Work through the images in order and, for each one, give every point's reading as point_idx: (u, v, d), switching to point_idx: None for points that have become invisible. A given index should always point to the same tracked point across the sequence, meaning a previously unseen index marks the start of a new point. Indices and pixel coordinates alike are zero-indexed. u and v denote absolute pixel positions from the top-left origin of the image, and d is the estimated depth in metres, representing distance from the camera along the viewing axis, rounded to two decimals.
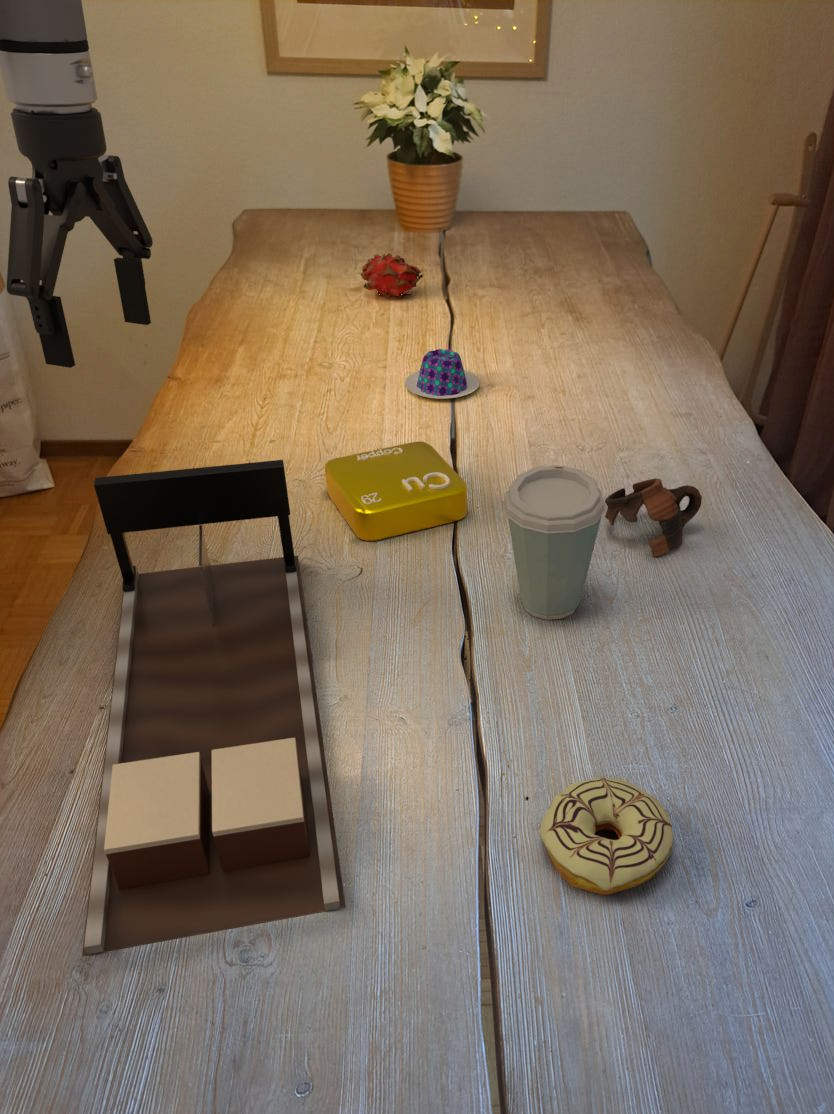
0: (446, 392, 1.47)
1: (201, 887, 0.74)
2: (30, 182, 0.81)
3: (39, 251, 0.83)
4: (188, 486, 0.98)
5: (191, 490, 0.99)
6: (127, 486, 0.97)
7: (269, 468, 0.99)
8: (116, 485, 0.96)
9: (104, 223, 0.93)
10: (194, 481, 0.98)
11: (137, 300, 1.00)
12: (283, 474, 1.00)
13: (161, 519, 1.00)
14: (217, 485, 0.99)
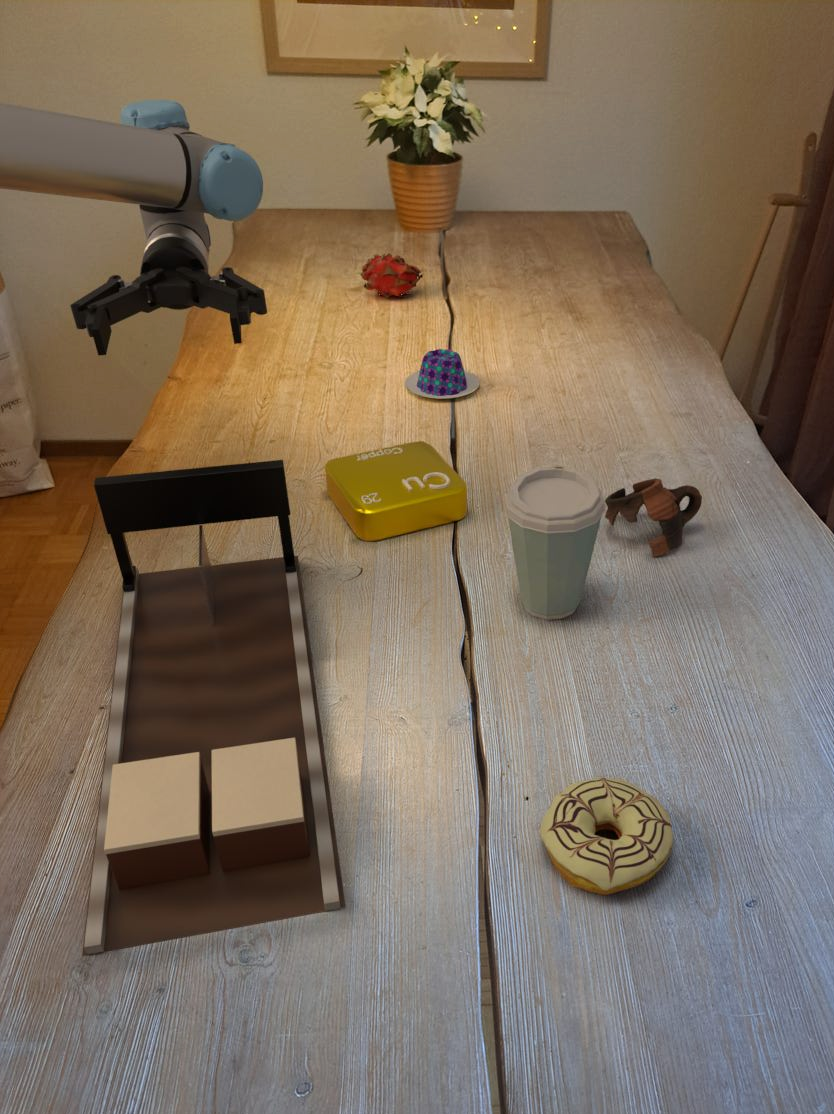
0: (446, 392, 1.47)
1: (201, 887, 0.74)
2: None
3: None
4: (188, 486, 0.98)
5: (191, 490, 0.99)
6: (127, 486, 0.97)
7: (269, 468, 0.99)
8: (116, 485, 0.96)
9: (134, 302, 1.03)
10: (194, 481, 0.98)
11: (106, 338, 0.97)
12: (283, 474, 1.00)
13: (161, 519, 1.00)
14: (217, 485, 0.99)
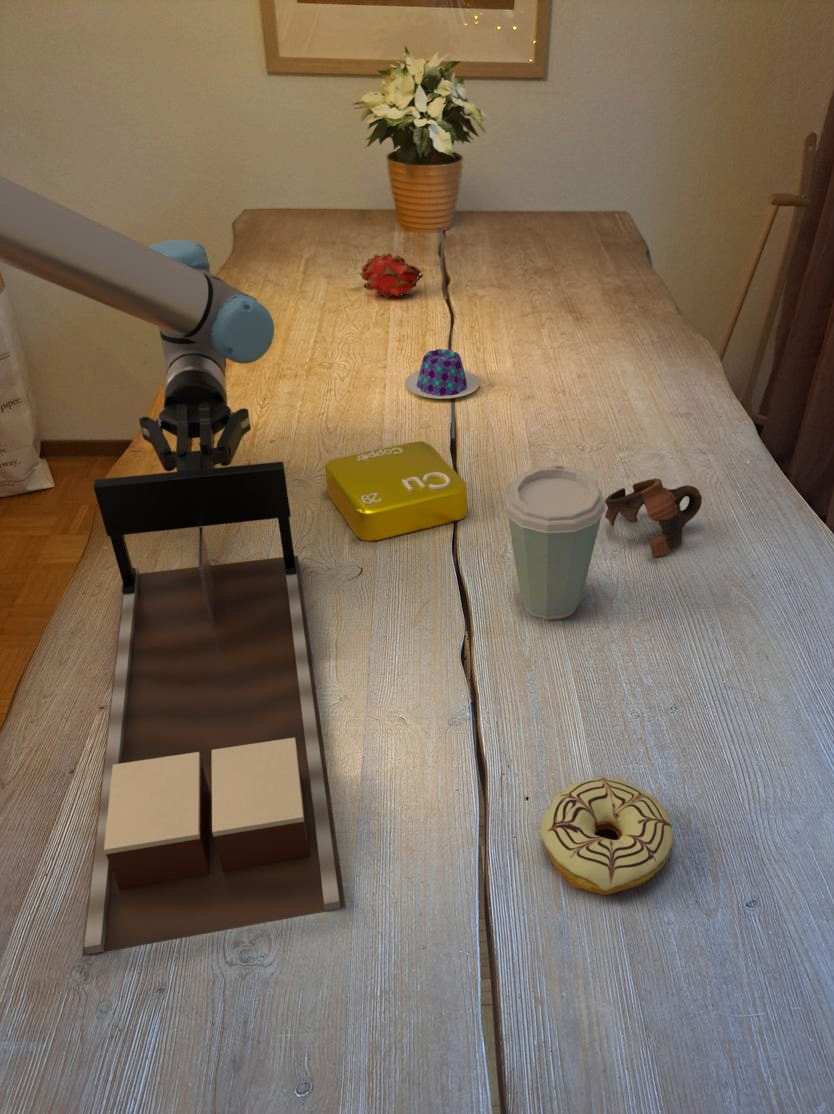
0: (446, 392, 1.47)
1: (201, 887, 0.74)
2: (250, 427, 1.14)
3: None
4: (188, 488, 0.98)
5: (191, 492, 0.98)
6: (126, 488, 0.96)
7: (269, 470, 0.99)
8: (116, 487, 0.96)
9: (189, 439, 1.09)
10: (194, 483, 0.98)
11: None
12: (283, 476, 0.99)
13: (161, 521, 1.00)
14: (217, 487, 0.99)
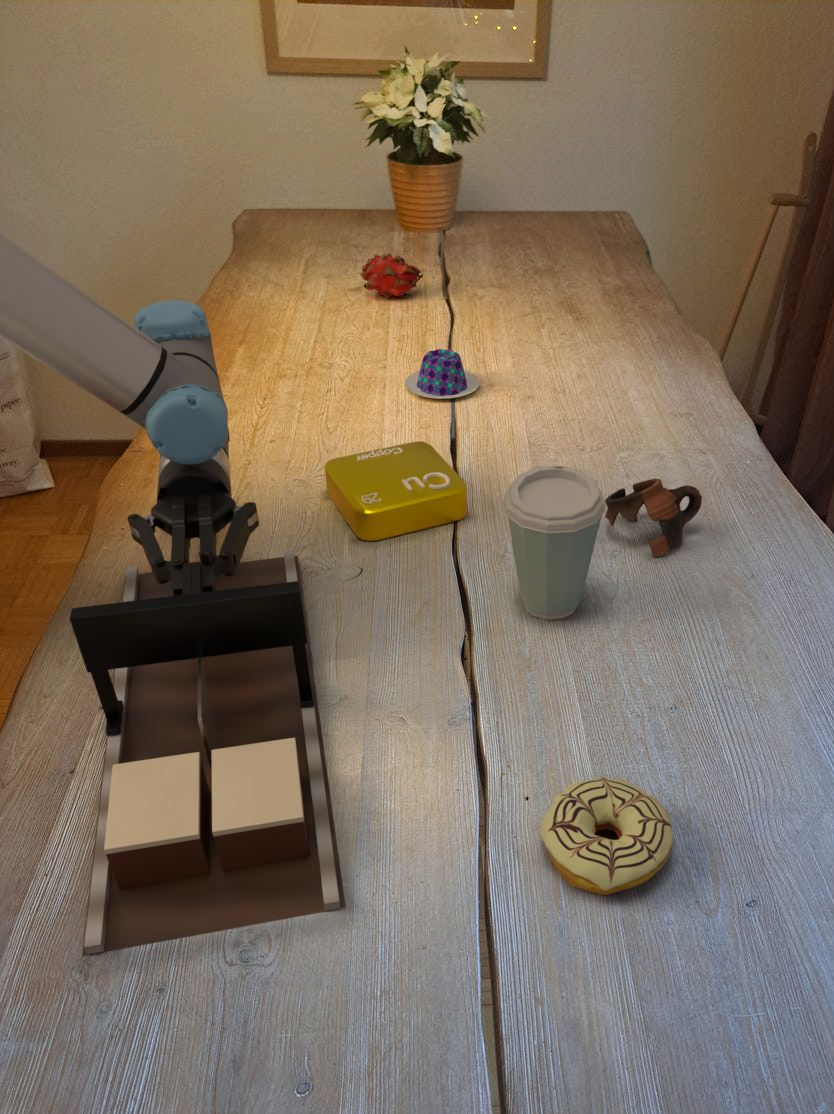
0: (446, 392, 1.47)
1: (201, 887, 0.74)
2: (258, 522, 0.97)
3: None
4: (185, 616, 0.81)
5: (188, 621, 0.81)
6: (110, 618, 0.79)
7: (283, 593, 0.82)
8: (97, 618, 0.79)
9: (187, 542, 0.92)
10: (192, 611, 0.81)
11: None
12: (299, 599, 0.83)
13: (152, 653, 0.83)
14: (220, 614, 0.82)
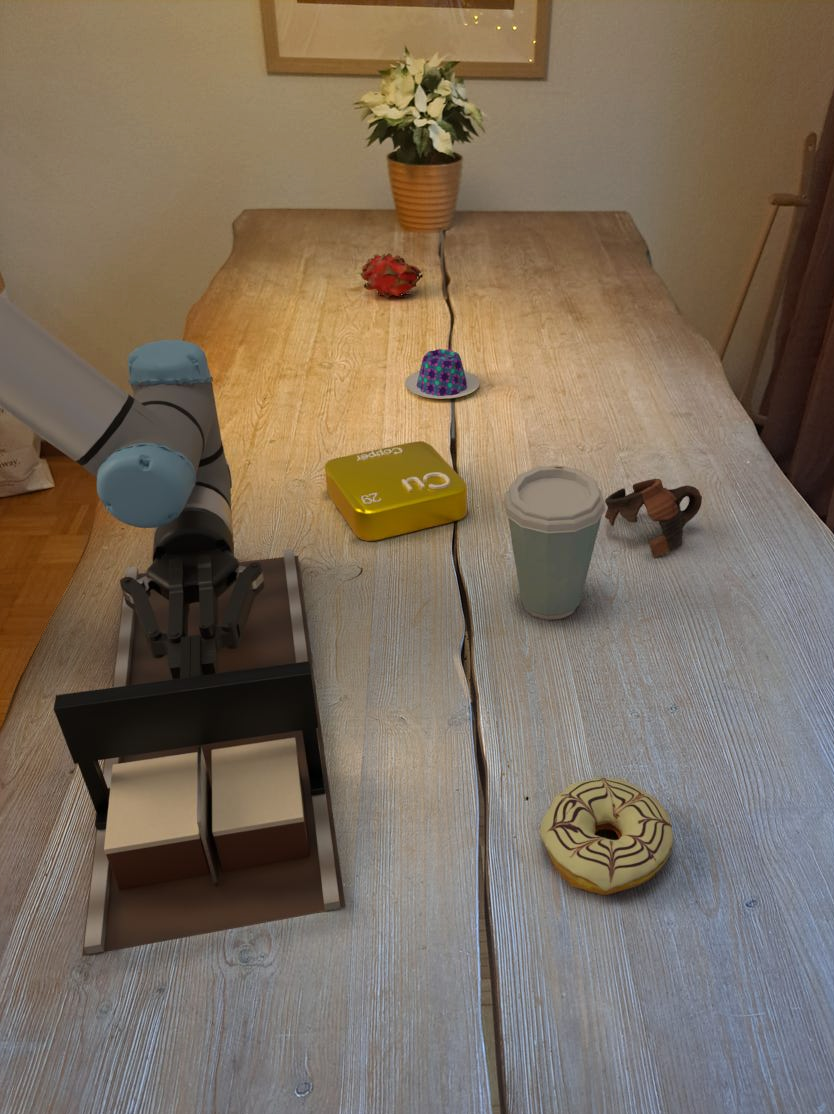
0: (446, 392, 1.47)
1: (201, 887, 0.74)
2: None
3: None
4: (182, 703, 0.73)
5: (186, 707, 0.73)
6: (99, 707, 0.71)
7: (292, 676, 0.73)
8: (84, 707, 0.71)
9: (185, 609, 0.84)
10: (190, 697, 0.72)
11: None
12: (310, 682, 0.74)
13: (146, 742, 0.74)
14: (221, 700, 0.73)
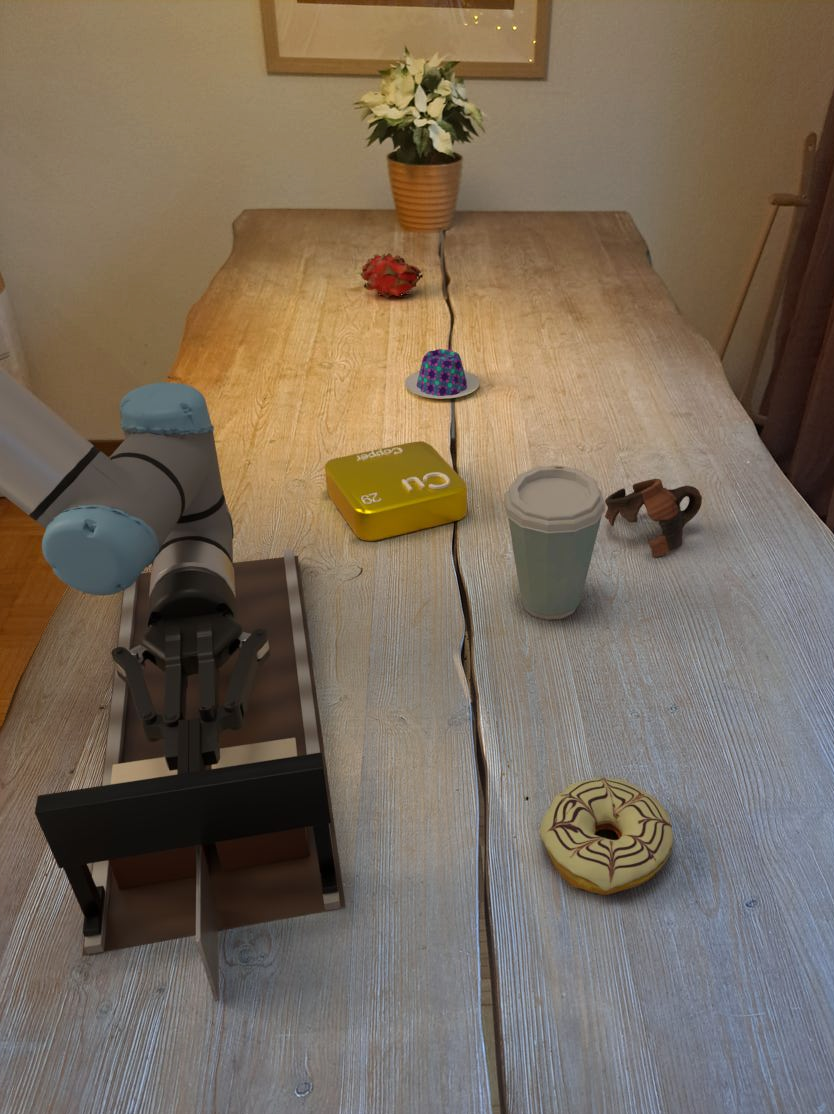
0: (446, 392, 1.47)
1: None
2: (269, 652, 0.81)
3: None
4: (180, 802, 0.65)
5: (184, 807, 0.65)
6: (86, 809, 0.63)
7: (302, 771, 0.66)
8: (69, 810, 0.63)
9: (183, 684, 0.76)
10: (189, 796, 0.65)
11: None
12: (323, 777, 0.66)
13: (139, 844, 0.66)
14: (224, 798, 0.65)
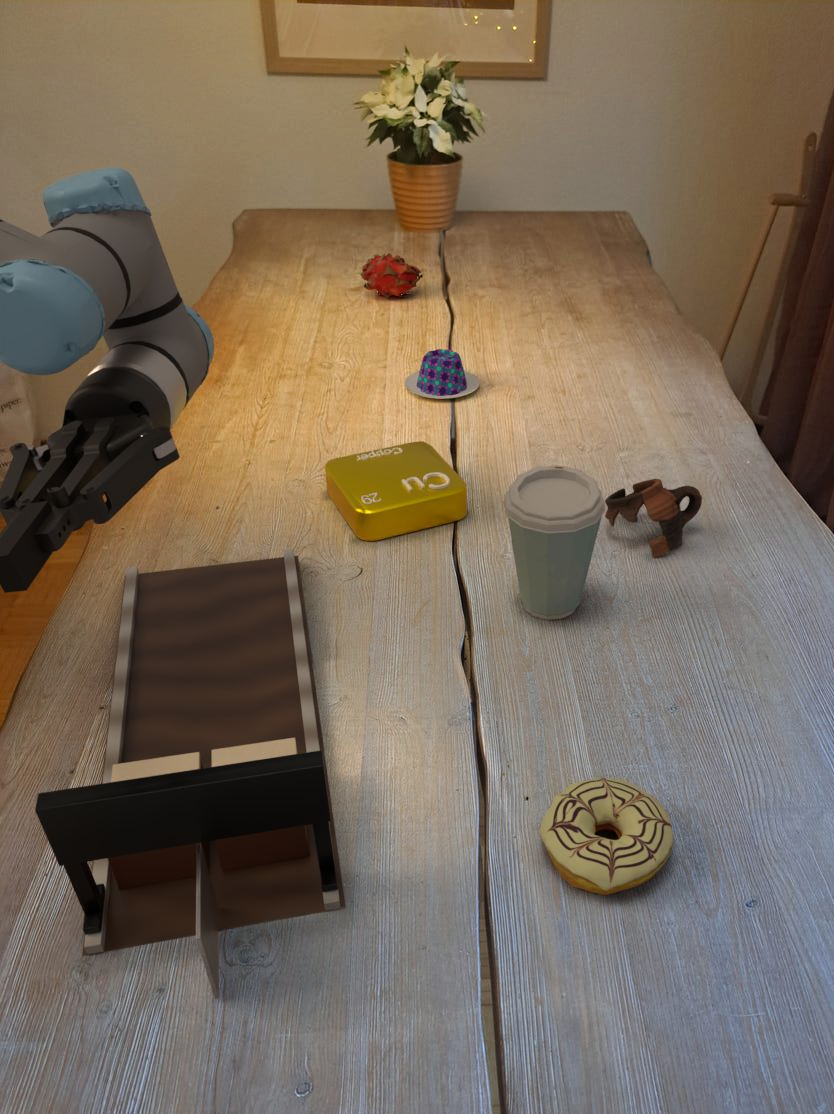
0: (446, 392, 1.47)
1: None
2: (178, 455, 0.71)
3: None
4: (180, 800, 0.65)
5: (184, 804, 0.65)
6: (86, 807, 0.63)
7: (302, 769, 0.66)
8: (70, 808, 0.63)
9: None
10: (189, 794, 0.65)
11: None
12: (322, 775, 0.67)
13: (139, 842, 0.67)
14: (223, 795, 0.66)
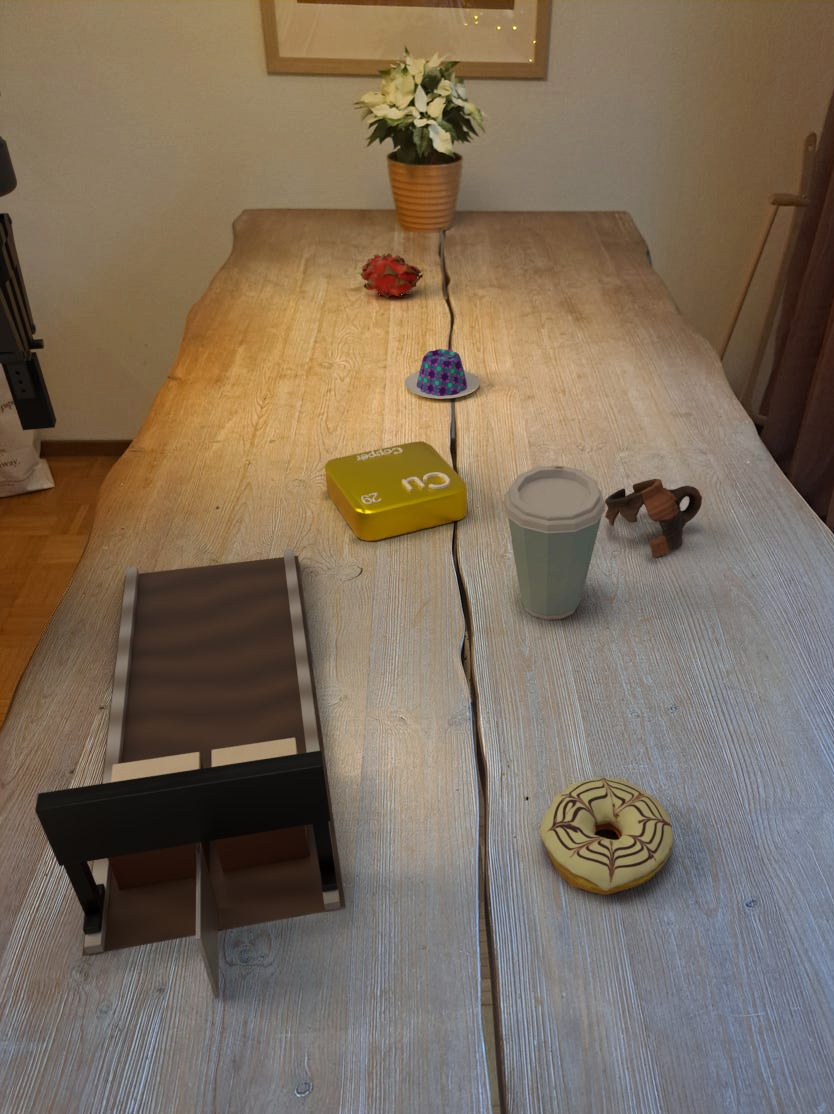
0: (446, 392, 1.47)
1: None
2: None
3: (10, 315, 0.76)
4: (180, 800, 0.65)
5: (184, 804, 0.65)
6: (86, 807, 0.63)
7: (302, 769, 0.66)
8: (70, 808, 0.63)
9: None
10: (189, 794, 0.65)
11: None
12: (322, 775, 0.67)
13: (139, 842, 0.67)
14: (223, 795, 0.66)
